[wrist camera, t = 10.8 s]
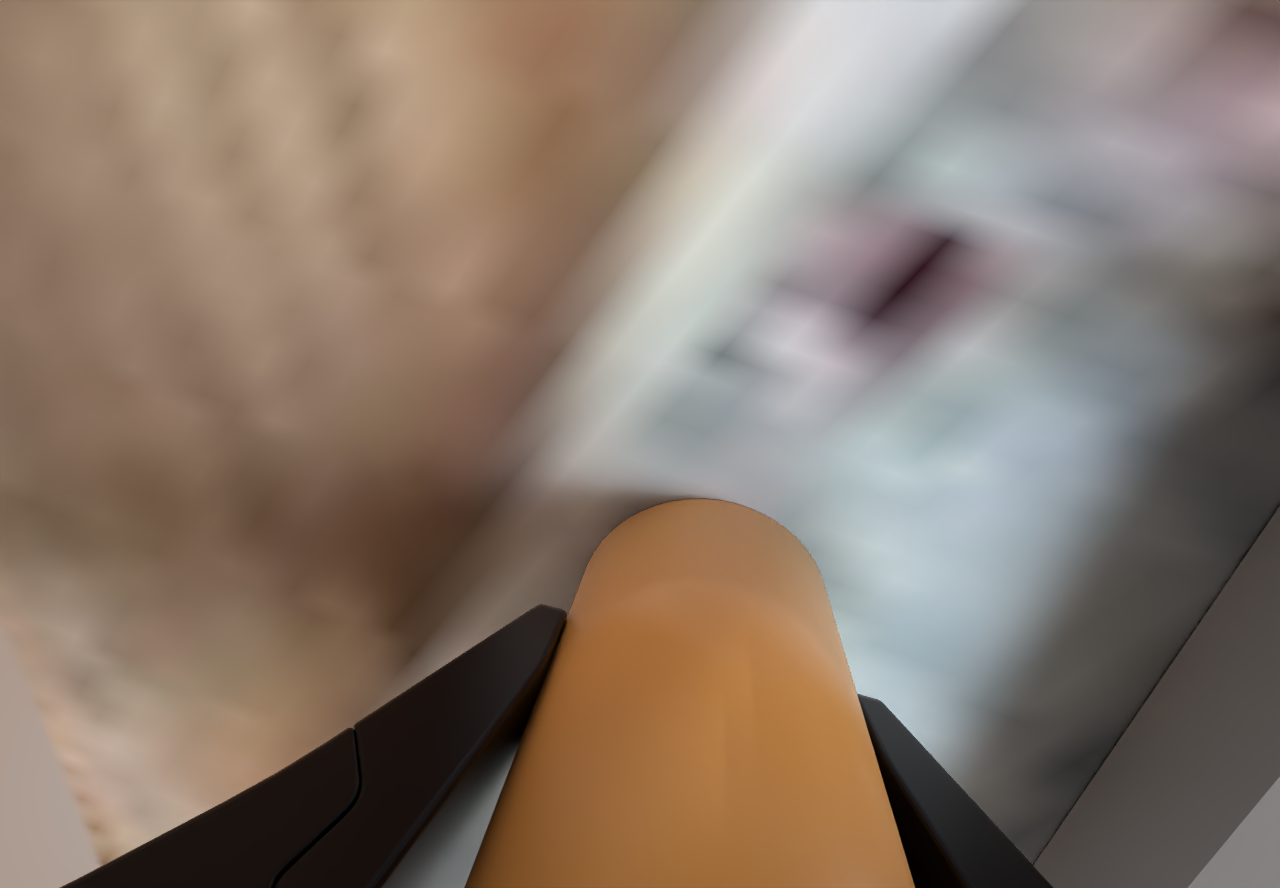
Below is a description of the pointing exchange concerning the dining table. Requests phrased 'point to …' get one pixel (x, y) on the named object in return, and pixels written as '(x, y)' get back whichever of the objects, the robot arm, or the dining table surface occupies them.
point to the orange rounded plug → (696, 725)
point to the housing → (1193, 759)
